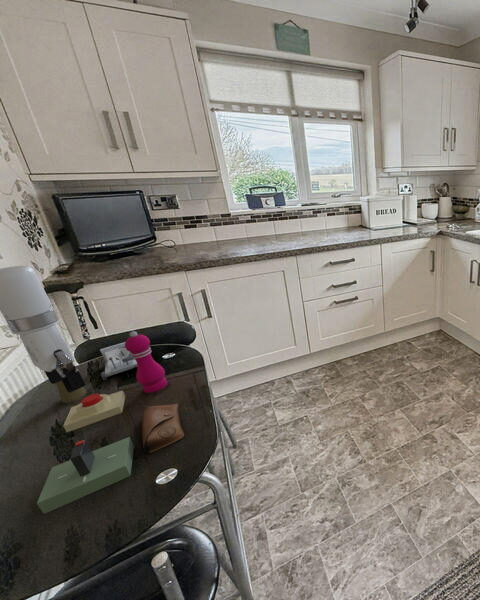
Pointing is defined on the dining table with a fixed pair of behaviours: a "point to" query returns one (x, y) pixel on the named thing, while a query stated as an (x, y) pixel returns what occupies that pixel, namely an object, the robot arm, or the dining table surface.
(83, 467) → the handle knob
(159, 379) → the pepper mill
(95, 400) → the red button
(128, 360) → the silver toaster
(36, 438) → the dining table surface
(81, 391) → the cork
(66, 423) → the button block
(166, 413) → the sunglasses case
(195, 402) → the dining table surface
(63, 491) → the panel
